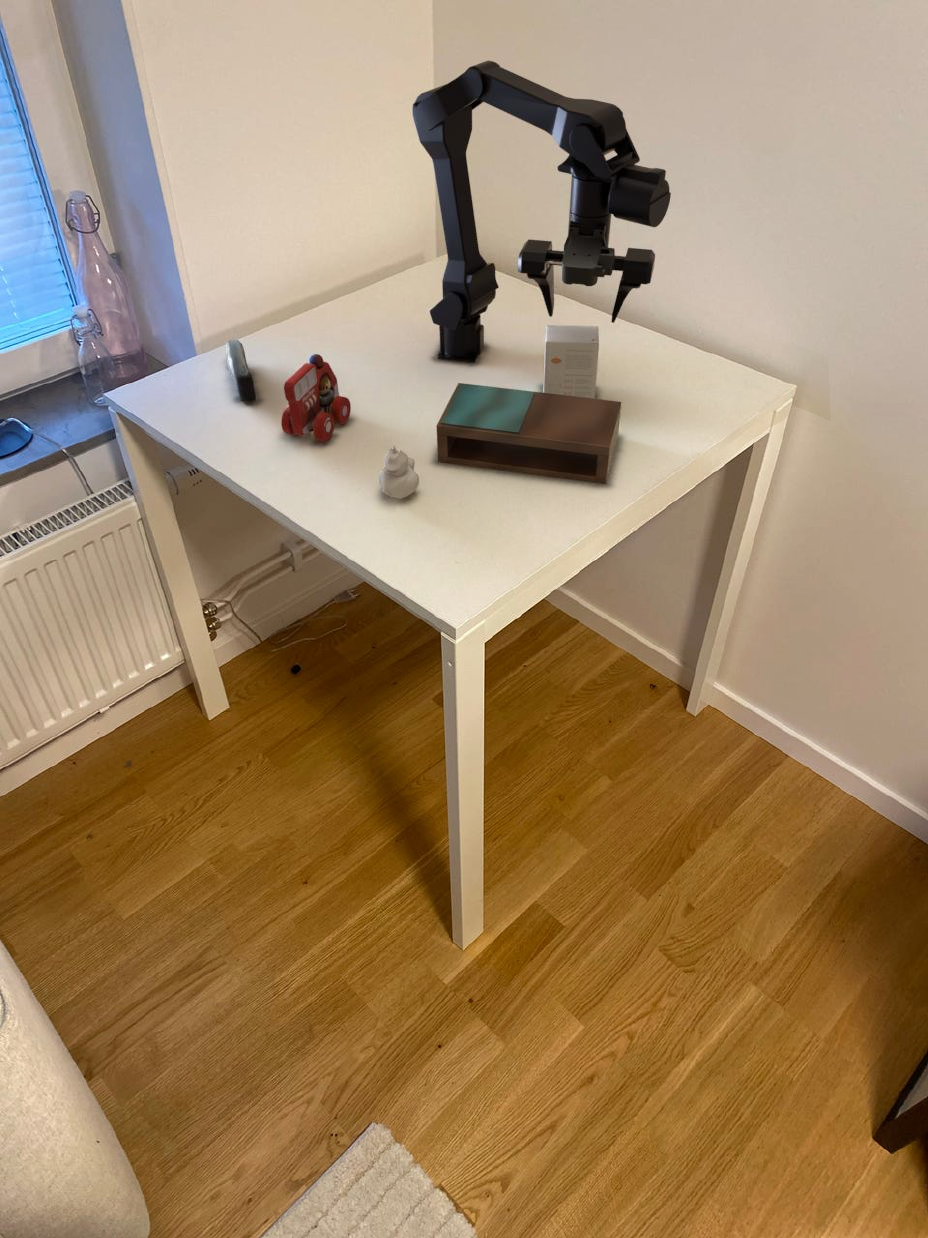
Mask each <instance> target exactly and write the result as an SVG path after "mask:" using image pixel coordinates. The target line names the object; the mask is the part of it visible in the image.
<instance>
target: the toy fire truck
mask: <svg viewBox="0 0 928 1238" xmlns="http://www.w3.org/2000/svg"><path fill="white" fill-rule="evenodd" d="M283 392H284V398H285V400H286V401H287V403H288V406H287V407H286V408H285V409H284V410H283V412H282V415H281V421H280V426H281V430H282V431H283V432H284V434H288V435H291V436H292V435H293V436H302V437H303V436H304V437H305V436H306V435H307V434H308V433H312V432H313V433H312V434H313V437H314V438H315V440H316V441H319V442H320V441H321V442H328V441H329V440H330V439H331V438H332V437H333V433H334V430H335V424H338V425H344V424H346V423H347V422H348V420H349V418H350V416H351V409H352V407H351V405H352V404H351V401H350V399H349V398H348V397H346V396H342V395H340V392H339V383H338V378H337V376H336V374H335V372H334V371H333V369H332V367H331V365H330V363H329V362H328V361H324V358H323V356H322V355H321V354H318V353H314V354H312V355H310V357H309V360H308V362H305V363H304V364H302V366H300V367H299V368H298V369H297V370H296V371H295V372H294V373H293V374H292V375H291V376H290V377H288V379H286V381H285V382H284V384H283Z"/></svg>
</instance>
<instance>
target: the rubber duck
mask: <svg viewBox="0 0 928 1238" xmlns="http://www.w3.org/2000/svg"><path fill="white" fill-rule="evenodd" d="M415 461H416V460H415V459H414V458H413V457H410V456H408V454H407V453H405V452H404V451H403V450H402V449H401V450H399V449H397V448H396V446H395V444H393V446H392V447H390V448H389V449H388V451H387V453H386V455H385V457H384V467H383V468H382V469H381V470H380V471H379V474H378V481H379V485H380V486H381V490H382V493H383V494H385V496H388V497H391V498H394V499H403V498H404V499H405V498H407V497H408V496H409V495H411V494H412V493H414V492H415V491H416V490H417V488H418V487H419V485H420V476H419V474H418V473H417V472H415V465H416V462H415Z"/></svg>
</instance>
